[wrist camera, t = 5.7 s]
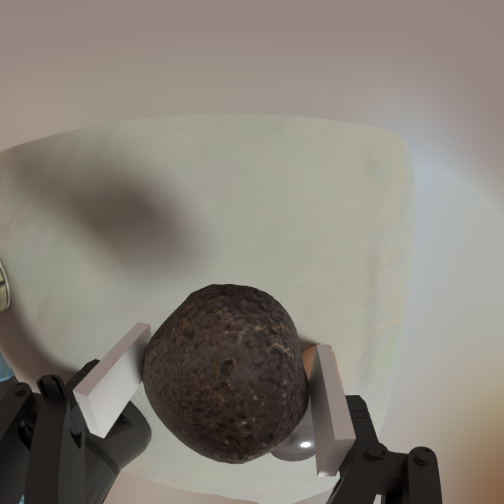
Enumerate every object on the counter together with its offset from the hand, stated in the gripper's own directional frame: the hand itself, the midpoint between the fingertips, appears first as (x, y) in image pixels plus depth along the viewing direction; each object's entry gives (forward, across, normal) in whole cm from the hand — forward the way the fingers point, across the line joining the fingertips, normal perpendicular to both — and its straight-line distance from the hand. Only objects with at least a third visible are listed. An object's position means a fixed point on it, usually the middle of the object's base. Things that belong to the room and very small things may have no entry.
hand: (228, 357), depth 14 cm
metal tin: (+12, +6, -16) cm, 21 cm away
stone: (+1, 0, 0) cm, 1 cm away
